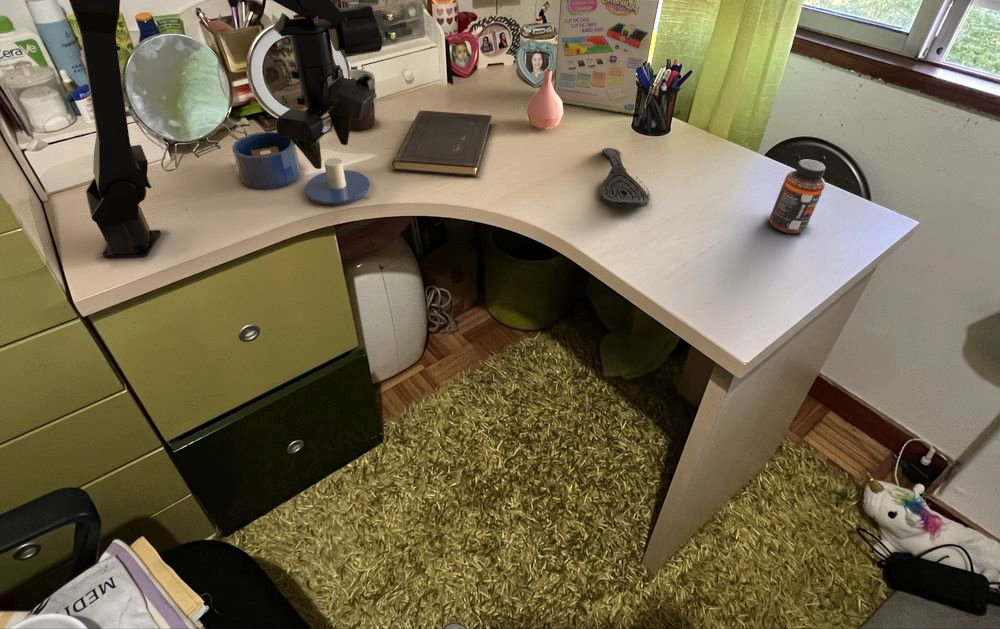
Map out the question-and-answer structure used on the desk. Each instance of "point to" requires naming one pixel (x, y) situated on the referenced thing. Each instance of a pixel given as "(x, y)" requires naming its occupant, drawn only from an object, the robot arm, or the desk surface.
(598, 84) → the game box
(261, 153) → the small brown cardboard box
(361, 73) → the coffee mug
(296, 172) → the blue round container
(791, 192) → the supplement bottle
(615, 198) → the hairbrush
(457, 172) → the hardcover book
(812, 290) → the desk surface
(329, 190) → the blue pot lid
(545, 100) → the pink vase
